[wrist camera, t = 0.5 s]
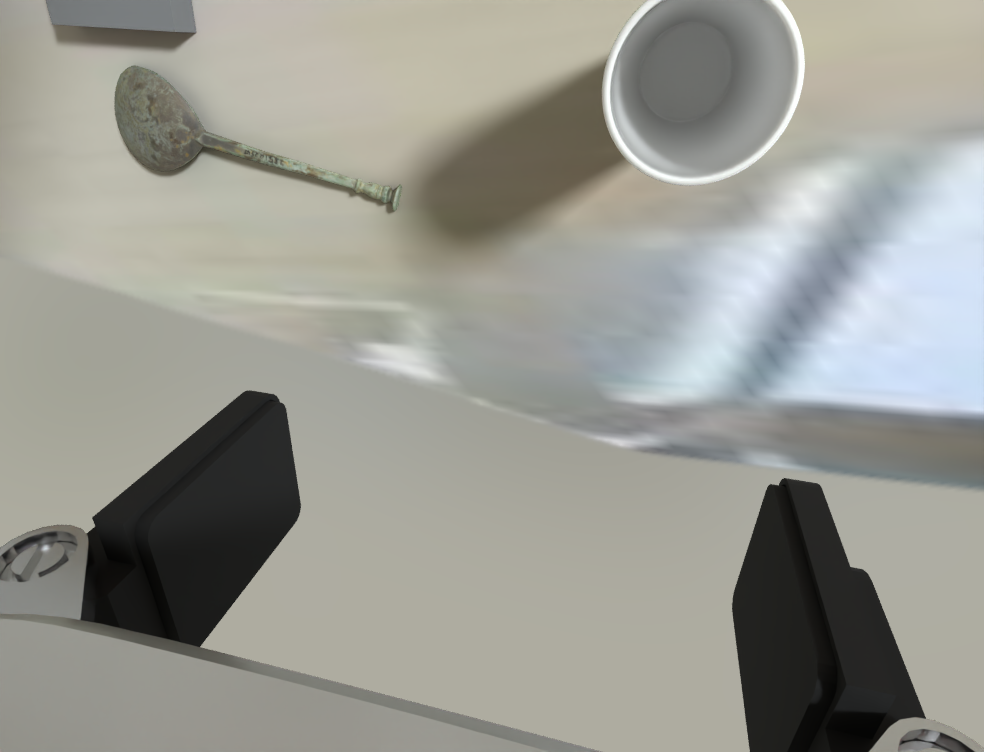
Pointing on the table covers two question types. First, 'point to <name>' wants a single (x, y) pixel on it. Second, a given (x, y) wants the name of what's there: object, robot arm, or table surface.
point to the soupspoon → (197, 134)
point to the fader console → (124, 14)
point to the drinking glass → (702, 86)
